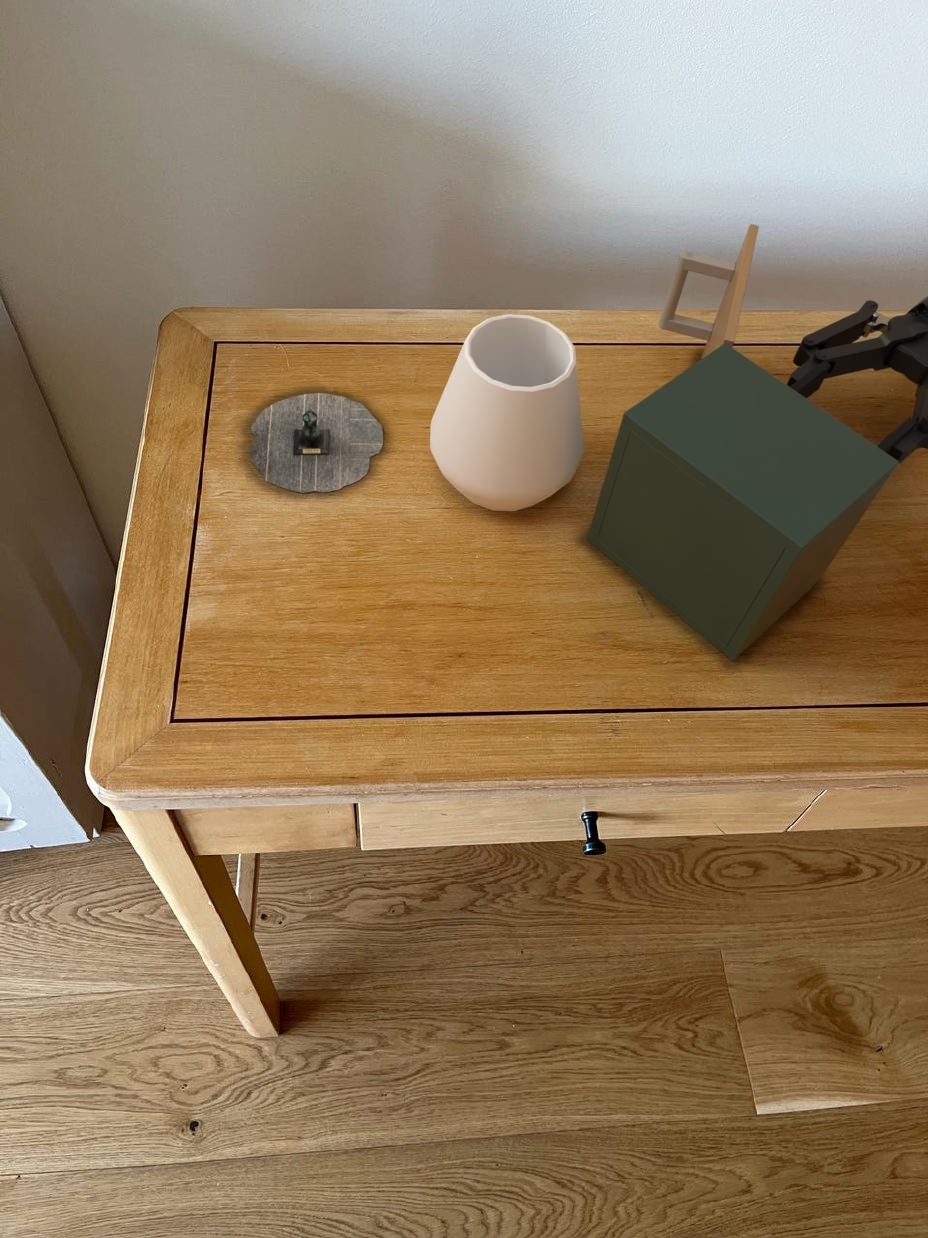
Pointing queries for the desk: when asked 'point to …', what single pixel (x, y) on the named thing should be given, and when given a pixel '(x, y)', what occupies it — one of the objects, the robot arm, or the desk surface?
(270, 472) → the sculpture
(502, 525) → the desk surface
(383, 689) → the desk surface
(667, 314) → the cabinet door
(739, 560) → the cabinet
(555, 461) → the white tapered cylinder
